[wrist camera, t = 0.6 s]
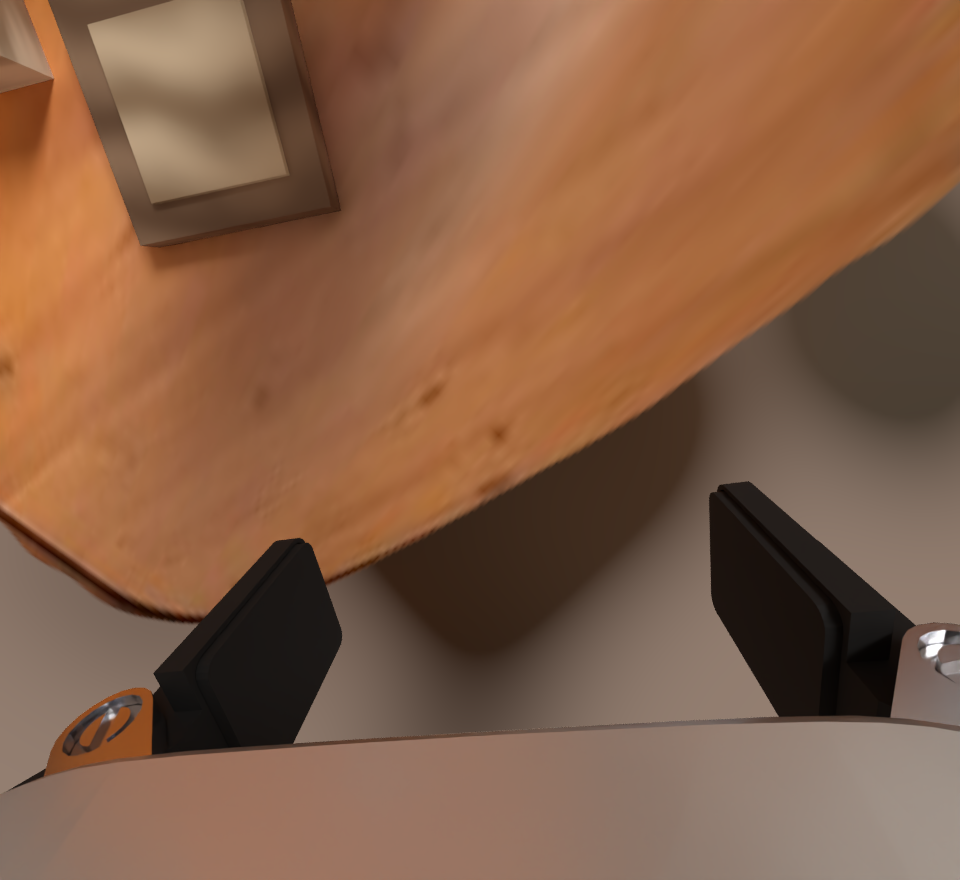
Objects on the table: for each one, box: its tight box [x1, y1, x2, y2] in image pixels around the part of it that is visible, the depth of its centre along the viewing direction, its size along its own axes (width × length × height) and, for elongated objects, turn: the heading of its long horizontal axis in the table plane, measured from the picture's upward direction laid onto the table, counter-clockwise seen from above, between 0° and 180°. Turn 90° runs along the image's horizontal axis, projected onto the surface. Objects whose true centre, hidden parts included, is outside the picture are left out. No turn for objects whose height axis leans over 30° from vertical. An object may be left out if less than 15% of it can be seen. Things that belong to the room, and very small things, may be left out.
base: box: [48, 0, 341, 247], centre depth 33 cm, size 16×16×2 cm
